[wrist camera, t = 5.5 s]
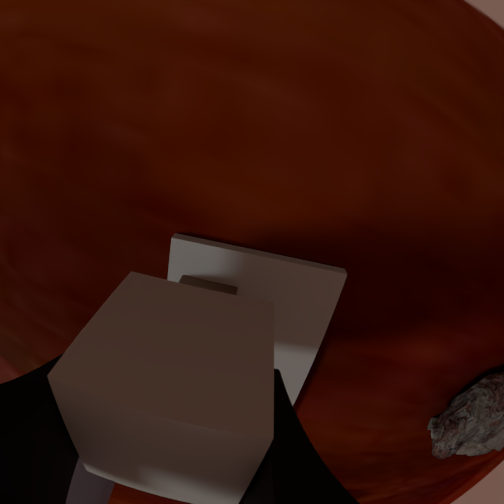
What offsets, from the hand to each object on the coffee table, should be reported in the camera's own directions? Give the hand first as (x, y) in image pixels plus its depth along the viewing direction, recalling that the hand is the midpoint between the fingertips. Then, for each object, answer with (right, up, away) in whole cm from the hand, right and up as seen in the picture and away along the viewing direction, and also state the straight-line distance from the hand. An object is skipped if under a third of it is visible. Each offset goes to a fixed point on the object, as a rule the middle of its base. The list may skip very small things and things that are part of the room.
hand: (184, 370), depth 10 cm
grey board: (+2, -1, +6) cm, 6 cm away
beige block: (0, +1, +1) cm, 2 cm away
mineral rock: (+23, -8, +8) cm, 25 cm away
